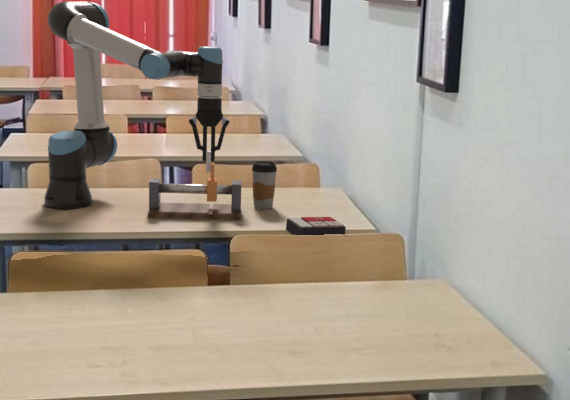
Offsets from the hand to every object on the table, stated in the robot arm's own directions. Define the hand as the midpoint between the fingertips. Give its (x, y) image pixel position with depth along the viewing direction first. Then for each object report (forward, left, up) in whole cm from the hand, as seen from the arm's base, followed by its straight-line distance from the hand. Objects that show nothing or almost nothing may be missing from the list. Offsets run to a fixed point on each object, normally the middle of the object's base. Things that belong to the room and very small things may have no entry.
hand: (208, 171), depth 260 cm
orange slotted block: (+1, 0, -9) cm, 9 cm away
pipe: (-4, 0, -12) cm, 13 cm away
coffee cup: (+18, +10, -14) cm, 25 cm away
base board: (-4, 0, -14) cm, 14 cm away
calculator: (+33, -19, -15) cm, 41 cm away
